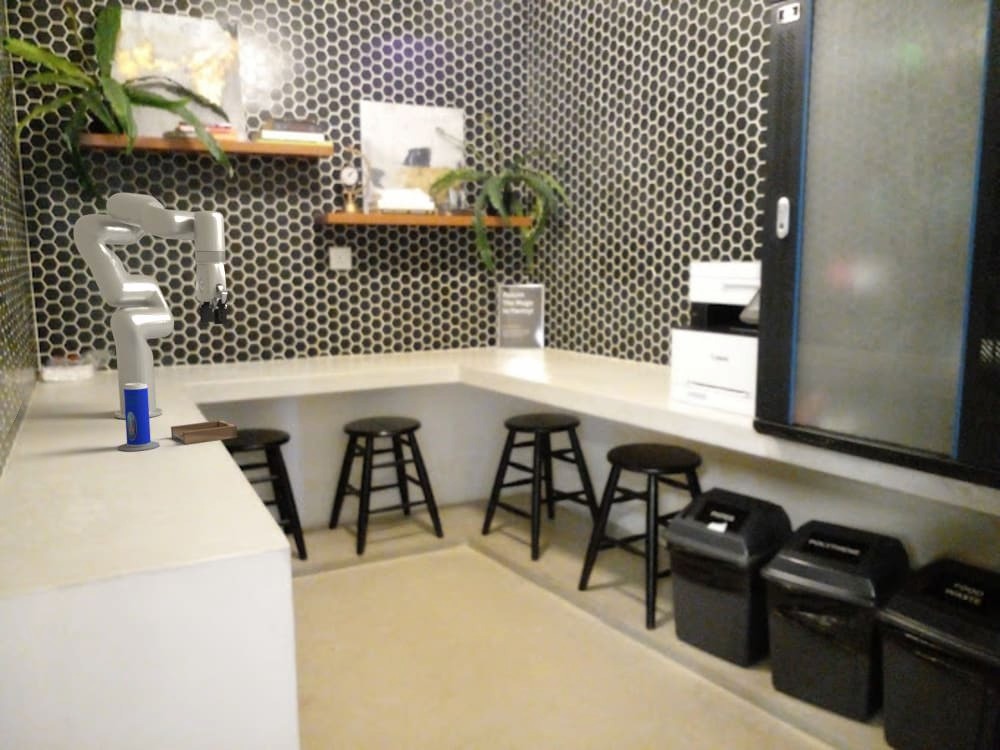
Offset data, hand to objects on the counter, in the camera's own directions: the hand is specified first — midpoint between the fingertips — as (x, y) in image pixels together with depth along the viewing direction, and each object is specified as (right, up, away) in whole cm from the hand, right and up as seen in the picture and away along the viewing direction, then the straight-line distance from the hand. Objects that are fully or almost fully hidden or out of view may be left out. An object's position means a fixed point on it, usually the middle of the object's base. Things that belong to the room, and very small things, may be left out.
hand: (213, 323), depth 202 cm
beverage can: (-10, -31, -20) cm, 39 cm away
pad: (-10, -31, -21) cm, 39 cm away
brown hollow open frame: (+2, -30, -10) cm, 32 cm away
